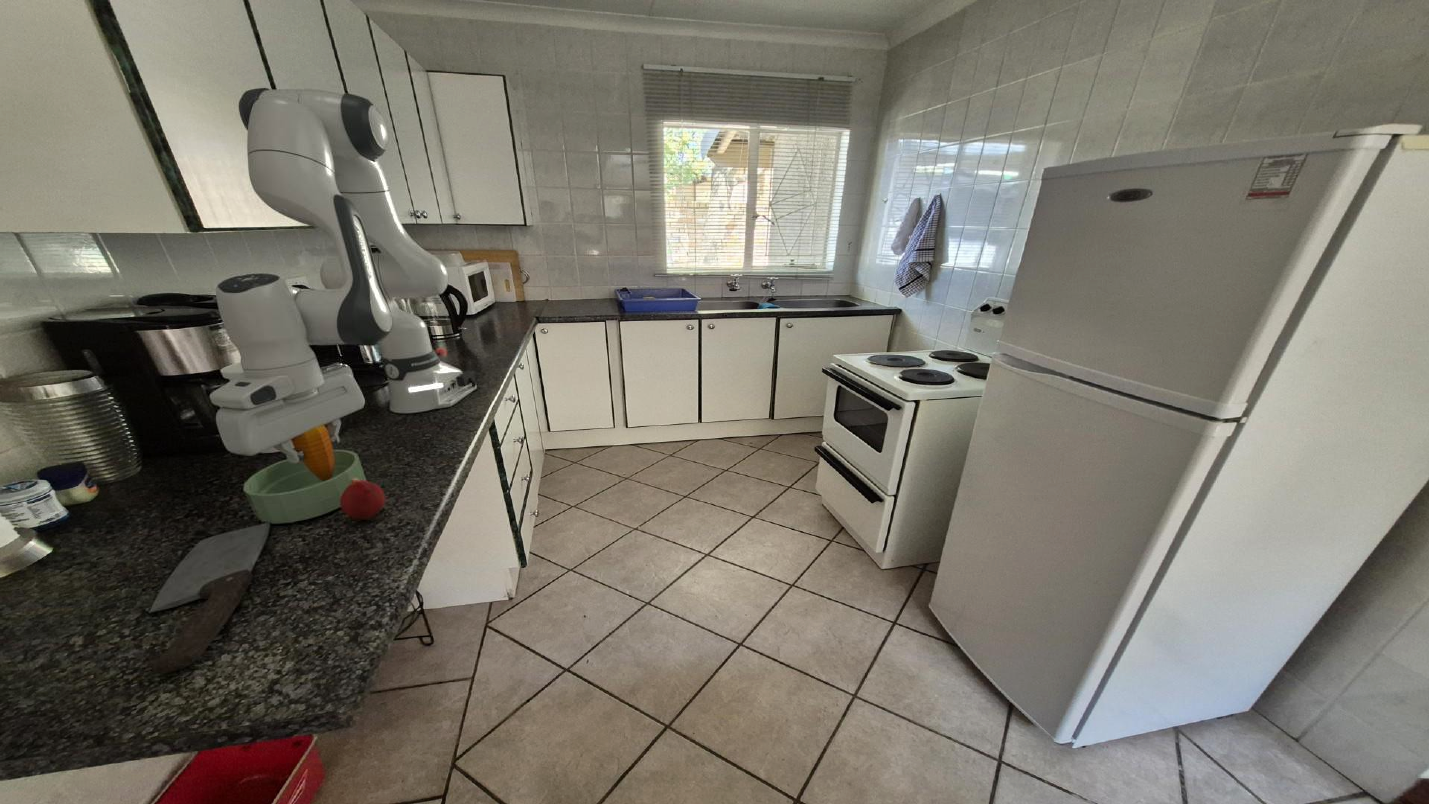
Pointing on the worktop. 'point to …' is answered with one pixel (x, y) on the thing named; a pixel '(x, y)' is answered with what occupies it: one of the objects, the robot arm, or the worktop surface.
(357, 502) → the onion
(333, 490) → the bowl
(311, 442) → the carrot
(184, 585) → the cleaver
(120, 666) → the worktop surface
